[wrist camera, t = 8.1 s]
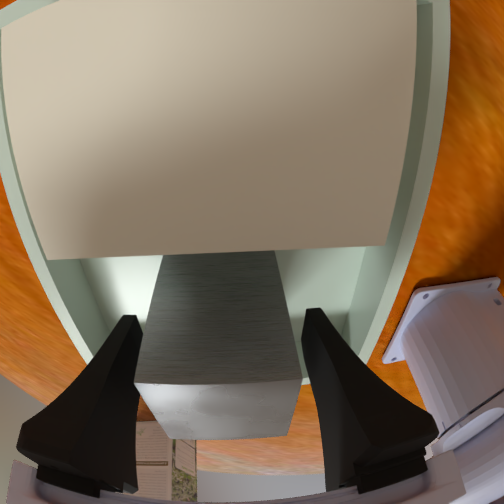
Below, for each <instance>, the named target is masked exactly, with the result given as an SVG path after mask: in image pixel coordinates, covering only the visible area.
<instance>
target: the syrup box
mask: <svg viewBox="0 0 504 504" xmlns="http://www.w3.org/2000/svg"><path fill="white" fill-rule="evenodd" d="M136 469H137V480H138V489H139V490H138V491H137V492H135V493H134V494H129V493H124V494H125V495H131V496H137V497H144V498H152V499H161V500H171V501H185V502H197V461H196V440H183V439H170V438H169V437H168V436H167V434H166V433H165V431H164V430H163V428H162V427H161V425H160V424H159V423H158V421H143V422H136Z"/></svg>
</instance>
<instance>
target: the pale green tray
mask: <svg viewBox="0 0 504 504" xmlns="http://www.w3.org/2000/svg"><path fill="white" fill-rule="evenodd" d="M56 1H59V0H17V1H15V2H13V3H12V4H10V5H8V6H6V7H5V8H3V9H1V10H0V173H1V177H2V180H3V184H4V188H5V191H6V194H7V198H8V201H9V204H10V207H11V210H12V213H13V216H14V219H15V222H16V225H17V227H18V230H19V233H20V235H21V238H22V241H23V243H24V246H25V248H26V251H27V253H28V255H29V258H30V260H31V262H32V265H33V267H34V269H35V271H36V274H37V276H38V278H39V280H40V282H41V284H42V286H43V288H44V290H45V292H46V294H47V296H48V298H49V300H50V302H51V304H52V306H53V308H54V310H55V312H56V314H57V315H58V317H59V319H60V321H61V323H62V324H63V326H64V328H65V330H66V331H67V333H68V335H69V336H70V338H71V340H72V341H73V343H74V345H75V346H76V348H77V350H78V351H79V353H80V354H81V356H82V357H83V359H84V360H85V362H86V364H87V365H88V363H89V362H90V361H91V360H92V358H93V357H94V356H95V354H96V353H97V352H98V350H99V349H100V347H101V346H102V345H103V343H104V342H105V340H106V339H107V337H108V336H109V335H110V333H111V332H112V330H113V329H114V327H115V326H116V324H117V323H118V321H119V320H120V318H121V317H122V316H123V315H137V318H138V321H139V324H140V326H141V329H142V332H143V333H144V329H145V324H146V320H147V316H148V311H149V307H150V303H151V299H152V295H153V291H154V287H155V283H156V279H157V275H158V272H159V268H160V264H161V260H162V257H163V255H152V256H128V257H105V258H82V259H59V260H47V258H46V256H45V253H44V251H43V248H42V246H41V243H40V240H39V238H38V235H37V232H36V229H35V226H34V224H33V221H32V218H31V215H30V212H29V208H28V205H27V202H26V199H25V195H24V192H23V188H22V185H21V181H20V177H19V173H18V169H17V165H16V161H15V157H14V152H13V147H12V143H11V137H10V132H9V126H8V120H7V113H6V106H5V98H4V89H3V77H2V60H1V28H2V27H4V26H6V25H8V24H10V23H12V22H13V21H15V20H17V19H19V18H21V17H23V16H25V15H27V14H29V13H31V12H33V11H36V10H38V9H40V8H42V7H45V6H47V5H49V4H52V3H54V2H56ZM416 1H417V43H416V65H415V79H414V90H413V100H412V109H411V118H410V125H409V132H408V139H407V145H406V152H405V157H404V163H403V169H402V174H401V179H400V184H399V189H398V194H397V198H396V203H395V207H394V211H393V216H392V220H391V224H390V228H389V232H388V236H387V239H386V243H385V246H365V247H341V248H317V249H293V250H274V251H275V255H276V259H277V263H278V268H279V272H280V276H281V281H282V285H283V290H284V294H285V298H286V303H287V307H288V312H289V316H290V321H291V325H292V330H293V335H294V339H295V344H296V348H297V353H298V358H299V362H300V367H301V372H302V377H303V380H302V384H301V385H305V384H310V380H309V376H308V373H307V369H306V366H305V362H304V357H303V351H302V344H301V335H302V330H303V324H304V318H305V313H306V309H307V308H319V307H320V308H321V309H322V310H323V311H324V313H325V314H326V316H327V317H328V319H329V320H330V321H331V323H332V324H333V326H334V327H335V328H336V330H337V331H338V332H339V334H340V335H341V336H342V338H343V339H344V340H345V341H346V343H347V344H348V345H349V346H350V348H351V349H352V350H353V351H354V352H355V353H356V355H357V356H358V357H359V358H360V359H361V360H362V361H363V362H364V363H365V364H367V362H368V359H369V357H370V355H371V353H372V351H373V349H374V347H375V345H376V343H377V340H378V338H379V336H380V334H381V331H382V329H383V327H384V325H385V322H386V320H387V318H388V315H389V313H390V310H391V308H392V305H393V303H394V300H395V298H396V295H397V293H398V290H399V288H400V285H401V282H402V279H403V277H404V274H405V271H406V268H407V265H408V263H409V260H410V257H411V254H412V251H413V248H414V244H415V241H416V238H417V235H418V231H419V228H420V225H421V221H422V218H423V214H424V210H425V207H426V203H427V199H428V195H429V191H430V187H431V183H432V178H433V174H434V169H435V165H436V160H437V155H438V150H439V144H440V138H441V132H442V126H443V120H444V112H445V105H446V96H447V86H448V75H449V59H450V0H416Z"/></svg>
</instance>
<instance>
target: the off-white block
mask: <svg viewBox="0 0 504 504" xmlns="http://www.w3.org/2000/svg"><path fill="white" fill-rule="evenodd" d="M416 43H417V1H416V0H59V1H56V2H54V3H52V4H49V5H47V6H45V7H42V8H40V9H38V10H36V11H33V12H31V13H29V14H27V15H25V16H23V17H21V18H19V19H17V20H15V21H13V22H12V23H10V24H8V25H6V26H4V27H2V28H1V60H2V77H3V89H4V98H5V106H6V113H7V120H8V126H9V132H10V137H11V143H12V147H13V152H14V157H15V161H16V165H17V169H18V173H19V177H20V181H21V185H22V188H23V192H24V195H25V199H26V202H27V205H28V208H29V212H30V215H31V218H32V221H33V224H34V226H35V229H36V232H37V235H38V238H39V240H40V243H41V246H42V248H43V251H44V253H45V256H46V258H47V260H59V259H82V258H105V257H128V256H152V255H175V254H198V253H222V252H246V251H269V250H293V249H317V248H341V247H365V246H385V243H386V239H387V236H388V232H389V228H390V224H391V220H392V216H393V211H394V207H395V203H396V198H397V194H398V189H399V184H400V179H401V174H402V169H403V163H404V157H405V152H406V145H407V139H408V132H409V125H410V118H411V109H412V100H413V90H414V79H415V65H416Z"/></svg>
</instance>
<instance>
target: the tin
mask: <svg viewBox="0 0 504 504" xmlns="http://www.w3.org/2000/svg"><path fill="white" fill-rule="evenodd" d="M302 380H303V377H302V372H301V367H300V362H299V358H298V353H297V348H296V344H295V339H294V335H293V330H292V325H291V321H290V316H289V312H288V307H287V303H286V298H285V294H284V290H283V285H282V281H281V276H280V272H279V268H278V263H277V259H276V255H275V251H274V250H269V251H246V252H222V253H198V254H175V255H163V257H162V260H161V264H160V268H159V272H158V275H157V279H156V283H155V287H154V291H153V295H152V299H151V303H150V307H149V311H148V316H147V320H146V324H145V329H144V333H143V338H142V343H141V347H140V352H139V357H138V362H137V367H136V373H135V378H134V384H135V386H136V388H137V389H138V391H139V393H140V394H141V396H142V398H143V399H144V401H145V402H146V404H147V406H148V407H149V409H150V410H151V412H152V413H153V415H154V416H155V418H156V420H157V421H158V423H159V424H160V425H161V427H162V428H163V430H164V431H165V433H166V434H167V436H168V437H169V438H170V439H183V440H232V439H253V438H266V437H277V436H287V433H288V430H289V427H290V423H291V420H292V417H293V413H294V410H295V406H296V402H297V399H298V395H299V391H300V388H301V384H302Z"/></svg>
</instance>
